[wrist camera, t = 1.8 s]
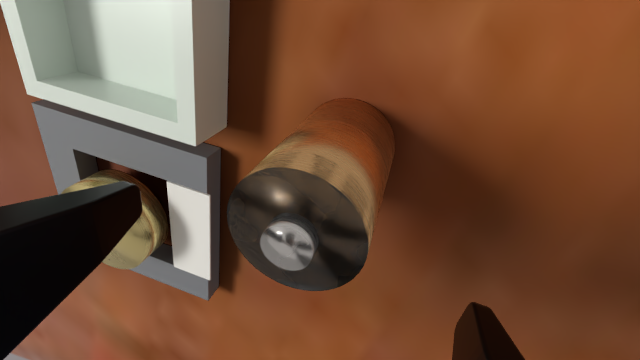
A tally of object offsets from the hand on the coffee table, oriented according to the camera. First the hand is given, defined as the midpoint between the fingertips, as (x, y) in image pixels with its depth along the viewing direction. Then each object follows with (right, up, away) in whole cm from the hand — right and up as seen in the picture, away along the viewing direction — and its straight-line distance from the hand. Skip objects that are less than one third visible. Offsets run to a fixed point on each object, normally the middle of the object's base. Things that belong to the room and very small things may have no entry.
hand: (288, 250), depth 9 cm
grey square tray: (-10, +1, +11) cm, 15 cm away
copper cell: (+2, +3, +6) cm, 7 cm away
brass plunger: (-10, 0, +10) cm, 14 cm away
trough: (-7, +9, +6) cm, 13 cm away
